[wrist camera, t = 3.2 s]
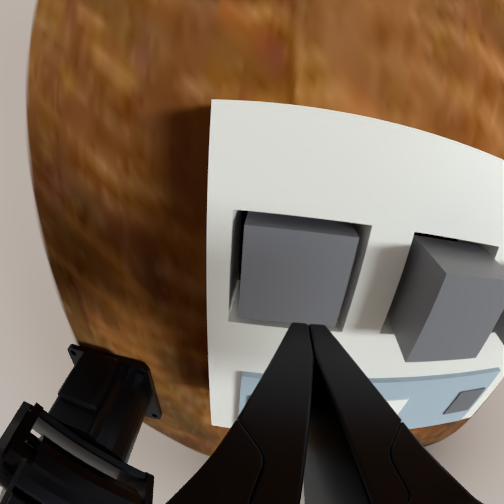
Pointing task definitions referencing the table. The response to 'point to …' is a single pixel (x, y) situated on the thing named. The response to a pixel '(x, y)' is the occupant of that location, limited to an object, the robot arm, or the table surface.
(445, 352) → the button middle
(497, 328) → the button right
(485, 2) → the table surface
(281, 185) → the button board
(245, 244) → the button left
